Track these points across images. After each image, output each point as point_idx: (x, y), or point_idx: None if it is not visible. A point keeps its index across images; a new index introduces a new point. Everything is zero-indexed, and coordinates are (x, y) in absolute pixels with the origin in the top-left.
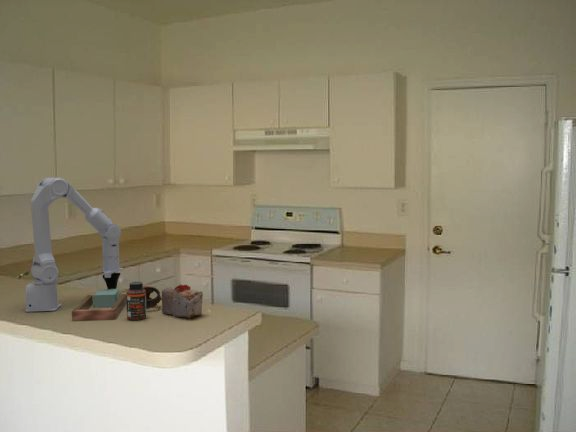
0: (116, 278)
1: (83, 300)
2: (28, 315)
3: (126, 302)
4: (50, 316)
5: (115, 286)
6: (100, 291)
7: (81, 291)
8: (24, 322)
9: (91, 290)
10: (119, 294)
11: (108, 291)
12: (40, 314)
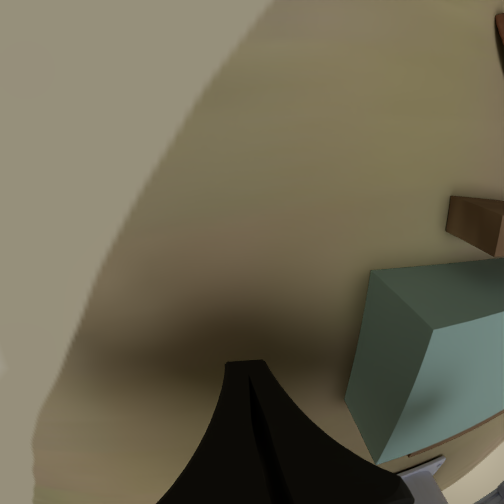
0: (389, 477)
1: (497, 414)
2: (444, 476)
3: (466, 198)
4: (489, 428)
5: (298, 408)
6: (451, 424)
7: (84, 490)
8: (498, 442)
9: (51, 464)
10: (403, 296)
11: (483, 375)
12: (452, 462)
